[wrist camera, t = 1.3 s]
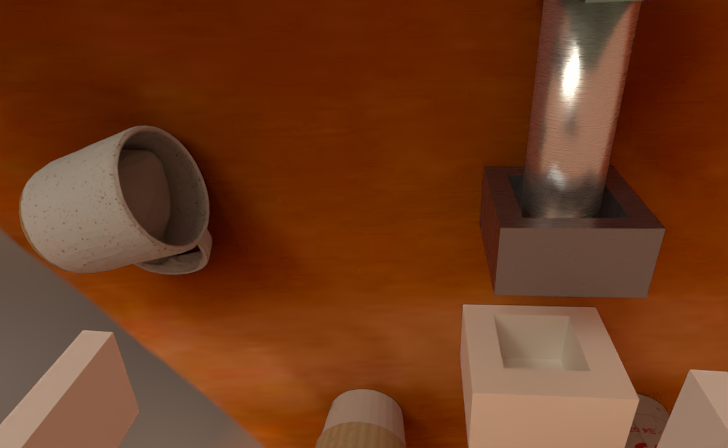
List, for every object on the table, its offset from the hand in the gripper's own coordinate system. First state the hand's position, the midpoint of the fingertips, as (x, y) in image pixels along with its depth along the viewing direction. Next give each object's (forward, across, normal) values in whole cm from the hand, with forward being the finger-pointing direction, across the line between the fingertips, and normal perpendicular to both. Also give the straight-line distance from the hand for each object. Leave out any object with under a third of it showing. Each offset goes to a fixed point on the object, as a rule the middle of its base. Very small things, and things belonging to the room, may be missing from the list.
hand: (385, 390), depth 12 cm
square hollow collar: (+20, +8, -4) cm, 22 cm away
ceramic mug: (+20, -16, -5) cm, 27 cm away
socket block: (+20, +9, -15) cm, 27 cm away
